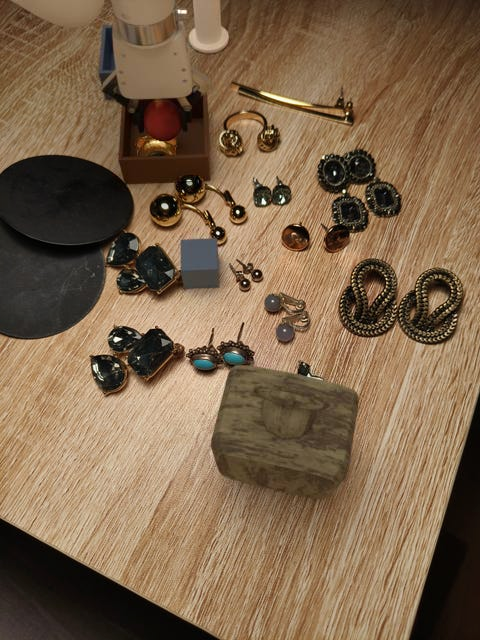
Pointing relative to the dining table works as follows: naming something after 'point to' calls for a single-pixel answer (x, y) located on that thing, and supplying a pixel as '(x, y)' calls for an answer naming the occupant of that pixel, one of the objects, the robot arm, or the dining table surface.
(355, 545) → the dining table surface
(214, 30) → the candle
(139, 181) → the brown bin
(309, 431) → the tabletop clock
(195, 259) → the blue block
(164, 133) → the onion
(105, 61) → the blue bin
